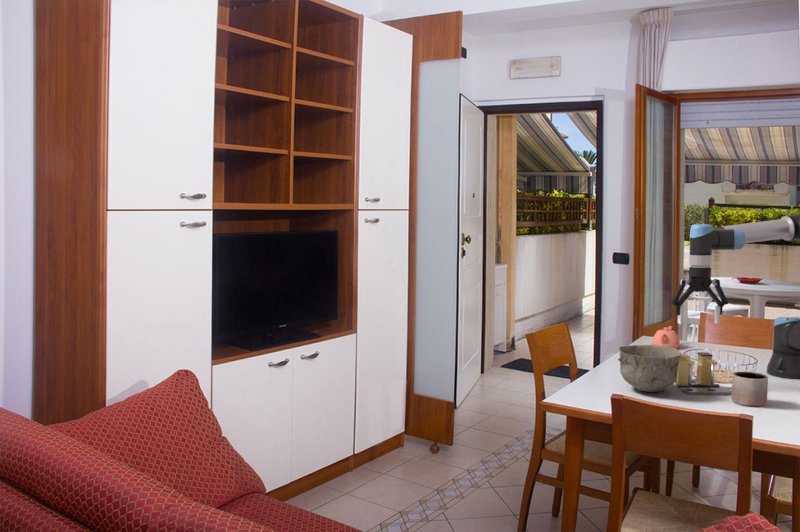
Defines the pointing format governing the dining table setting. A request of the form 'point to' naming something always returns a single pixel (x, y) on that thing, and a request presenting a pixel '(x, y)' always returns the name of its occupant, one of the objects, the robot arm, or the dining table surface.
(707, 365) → the sliding leg
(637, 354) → the bowl
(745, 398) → the planter
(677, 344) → the teapot
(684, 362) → the fixed leg
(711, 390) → the hole plate
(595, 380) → the dining table surface
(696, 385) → the rail
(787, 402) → the dining table surface
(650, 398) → the dining table surface
